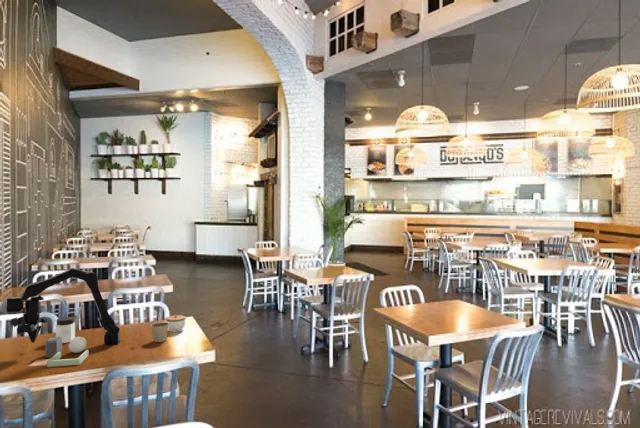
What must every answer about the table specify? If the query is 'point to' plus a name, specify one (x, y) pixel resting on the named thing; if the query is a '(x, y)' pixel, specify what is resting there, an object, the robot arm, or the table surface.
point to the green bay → (66, 360)
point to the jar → (65, 329)
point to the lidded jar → (176, 322)
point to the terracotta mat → (39, 363)
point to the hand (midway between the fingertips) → (33, 342)
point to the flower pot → (159, 331)
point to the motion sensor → (77, 344)
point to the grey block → (53, 346)
